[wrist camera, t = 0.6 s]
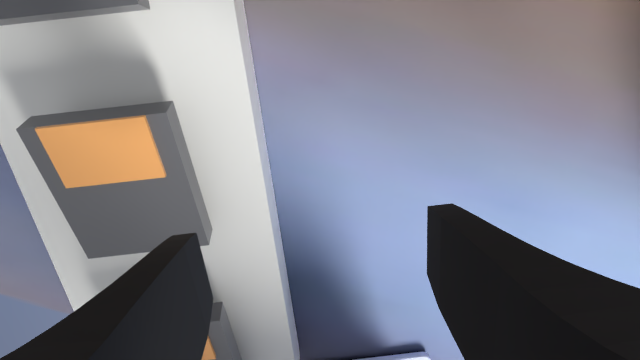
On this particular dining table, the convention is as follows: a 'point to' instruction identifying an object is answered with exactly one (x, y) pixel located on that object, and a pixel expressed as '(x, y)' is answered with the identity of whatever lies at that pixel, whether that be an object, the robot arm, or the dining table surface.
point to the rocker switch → (220, 337)
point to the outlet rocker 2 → (119, 176)
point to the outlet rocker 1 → (63, 9)
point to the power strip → (199, 132)
